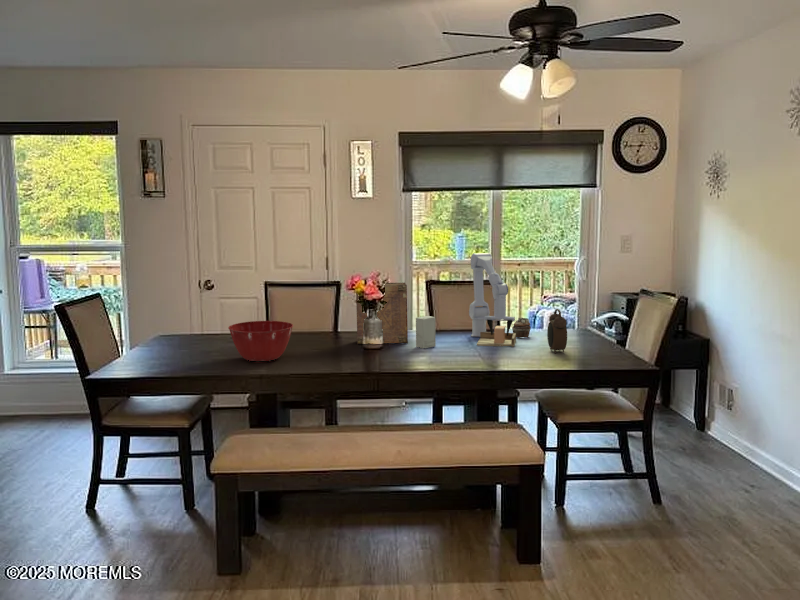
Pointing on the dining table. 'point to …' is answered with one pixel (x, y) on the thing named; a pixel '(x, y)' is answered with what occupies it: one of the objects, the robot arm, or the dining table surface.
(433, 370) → the dining table surface
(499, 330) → the block
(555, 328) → the brown backpack
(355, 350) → the dining table surface
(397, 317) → the brown upright rectangular box
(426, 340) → the skincare box
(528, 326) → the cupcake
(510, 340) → the wooden tray
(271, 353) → the mixing bowl
